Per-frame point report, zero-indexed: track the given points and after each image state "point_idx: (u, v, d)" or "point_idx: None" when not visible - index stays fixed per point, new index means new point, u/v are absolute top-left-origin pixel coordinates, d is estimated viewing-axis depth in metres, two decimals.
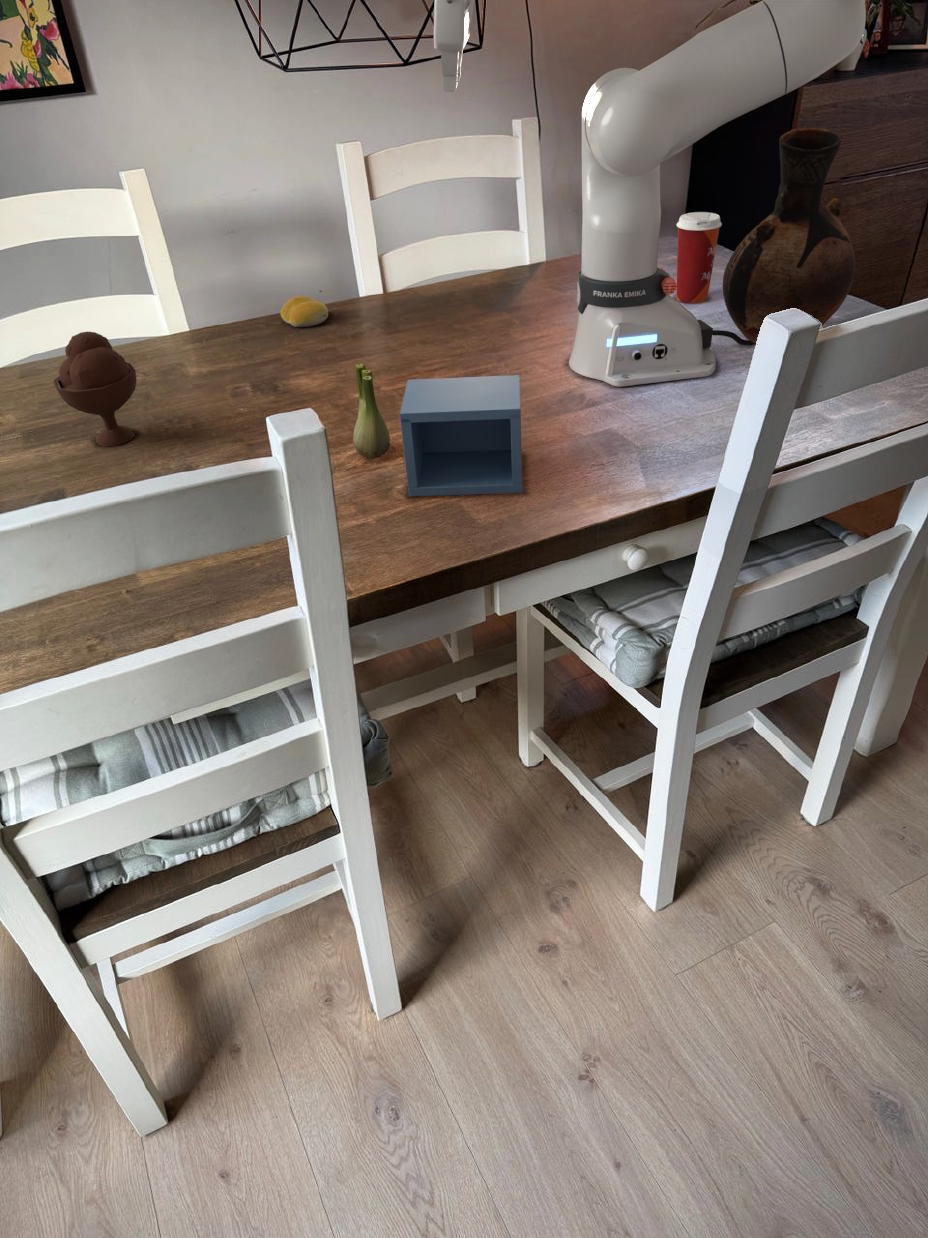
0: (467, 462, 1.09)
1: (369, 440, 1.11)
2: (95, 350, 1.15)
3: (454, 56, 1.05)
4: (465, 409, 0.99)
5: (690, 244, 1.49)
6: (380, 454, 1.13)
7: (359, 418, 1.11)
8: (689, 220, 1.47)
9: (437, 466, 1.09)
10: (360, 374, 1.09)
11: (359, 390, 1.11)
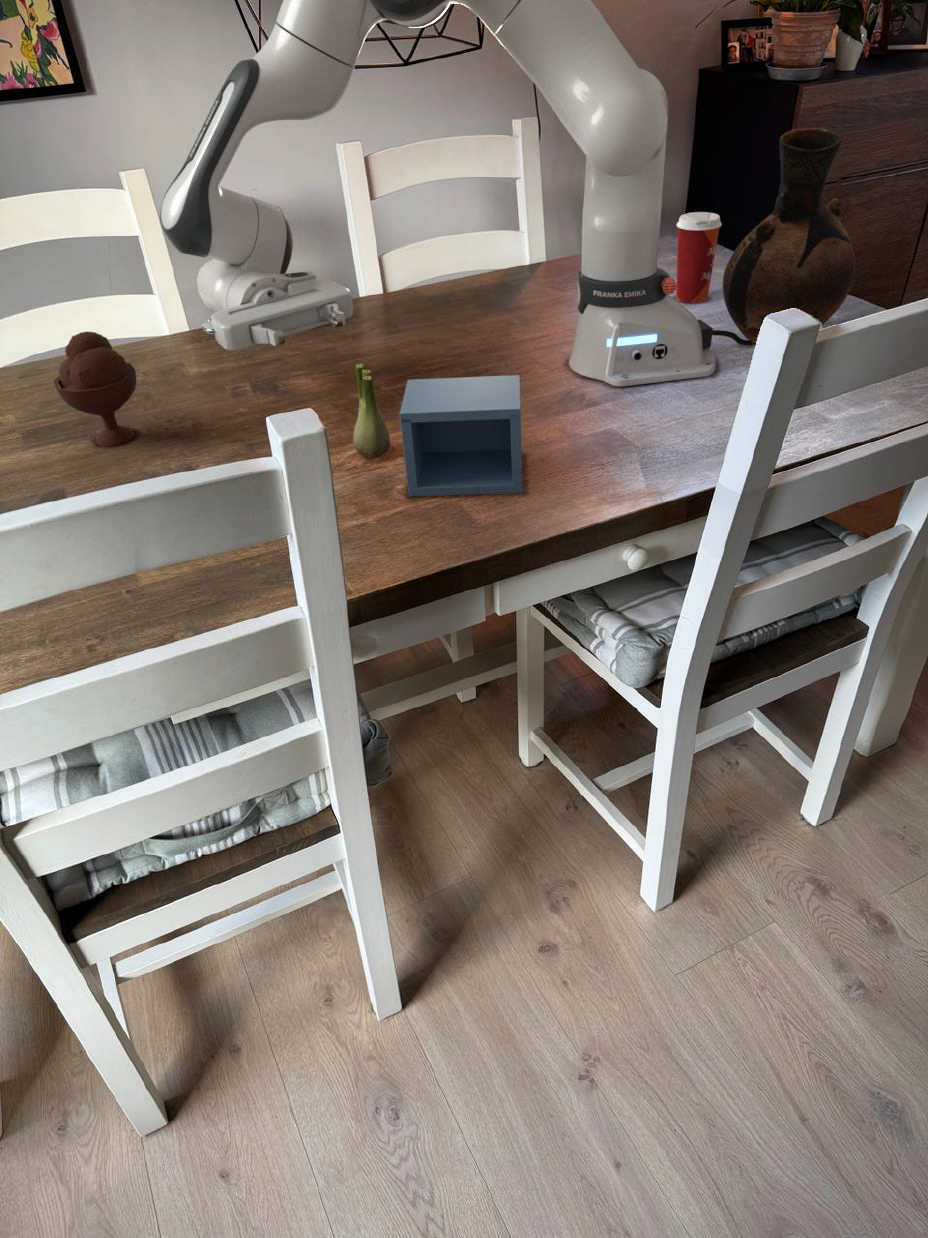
0: (467, 462, 1.09)
1: (369, 440, 1.11)
2: (95, 350, 1.15)
3: (253, 330, 1.14)
4: (465, 409, 0.99)
5: (690, 244, 1.49)
6: (380, 454, 1.13)
7: (359, 418, 1.11)
8: (689, 220, 1.47)
9: (437, 466, 1.09)
10: (360, 374, 1.09)
11: (359, 390, 1.11)
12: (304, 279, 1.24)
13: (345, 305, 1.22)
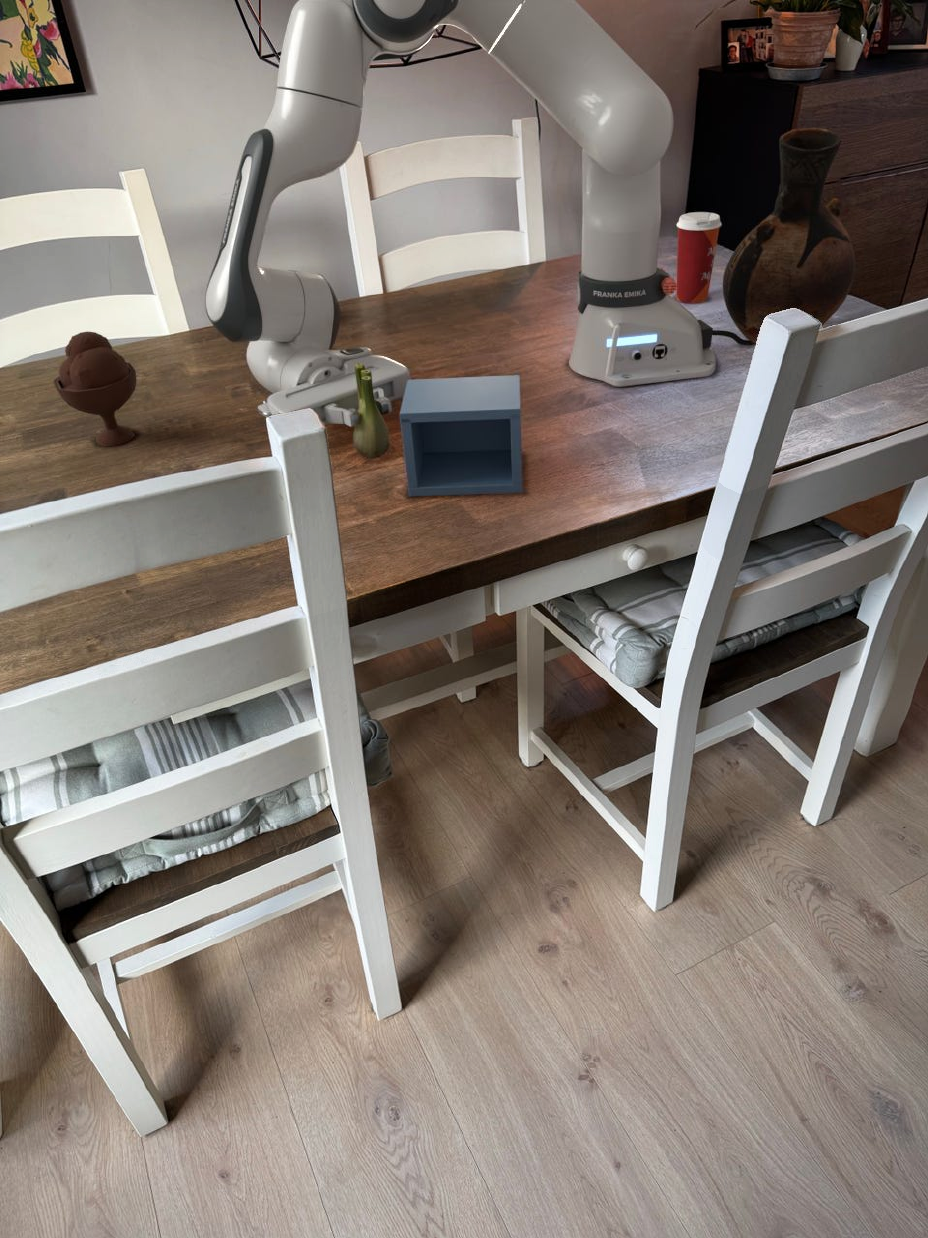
0: (467, 462, 1.09)
1: (369, 440, 1.11)
2: (95, 350, 1.15)
3: (327, 410, 1.11)
4: (465, 409, 0.99)
5: (690, 244, 1.49)
6: (380, 454, 1.13)
7: (359, 418, 1.11)
8: (689, 220, 1.47)
9: (437, 466, 1.09)
10: (359, 374, 1.09)
11: (358, 390, 1.11)
12: (360, 356, 1.20)
13: (403, 384, 1.18)
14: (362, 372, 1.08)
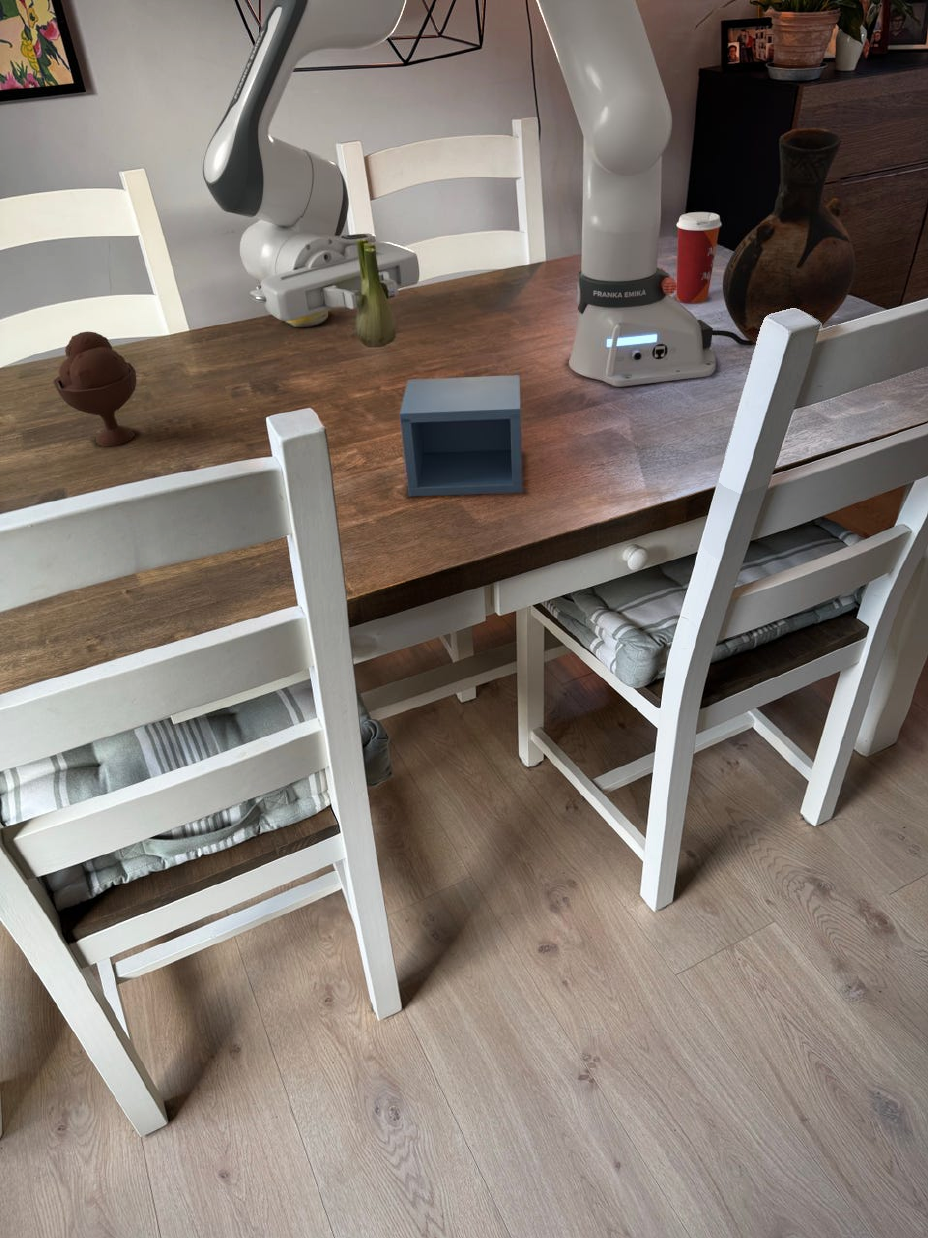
0: (467, 462, 1.09)
1: (373, 324, 1.00)
2: (95, 350, 1.15)
3: (326, 292, 1.01)
4: (465, 409, 0.99)
5: (690, 244, 1.49)
6: (385, 342, 1.03)
7: None
8: (689, 220, 1.47)
9: (437, 466, 1.09)
10: (362, 249, 0.98)
11: (361, 269, 1.00)
12: None
13: (411, 269, 1.07)
14: (365, 245, 0.97)
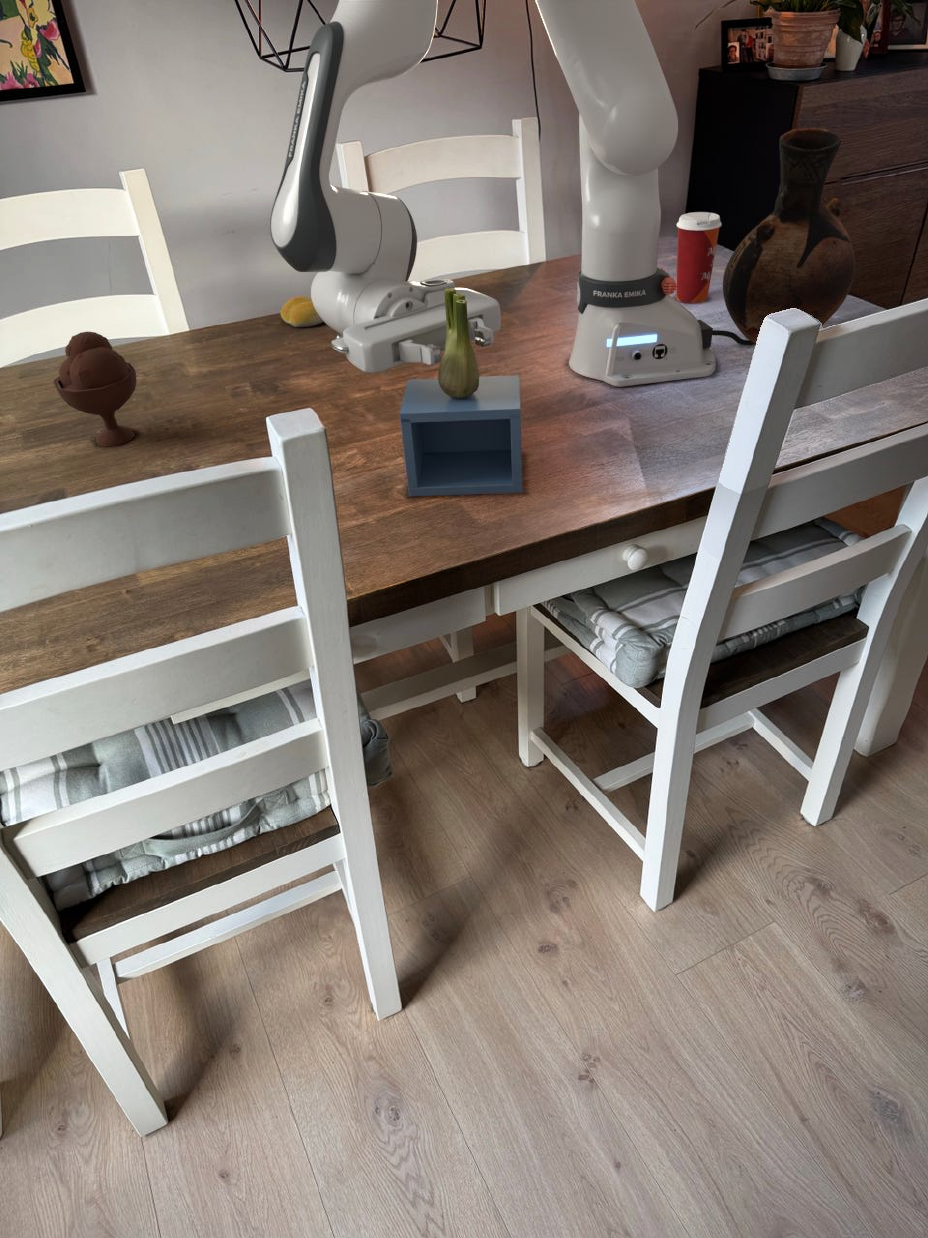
0: (467, 462, 1.09)
1: (459, 375, 0.98)
2: (95, 350, 1.15)
3: (402, 347, 0.98)
4: (465, 409, 0.99)
5: (690, 244, 1.49)
6: (469, 393, 1.00)
7: (447, 351, 0.98)
8: (689, 220, 1.47)
9: (437, 466, 1.09)
10: (451, 299, 0.96)
11: (448, 319, 0.98)
12: (443, 288, 1.07)
13: (493, 318, 1.05)
14: (455, 296, 0.95)
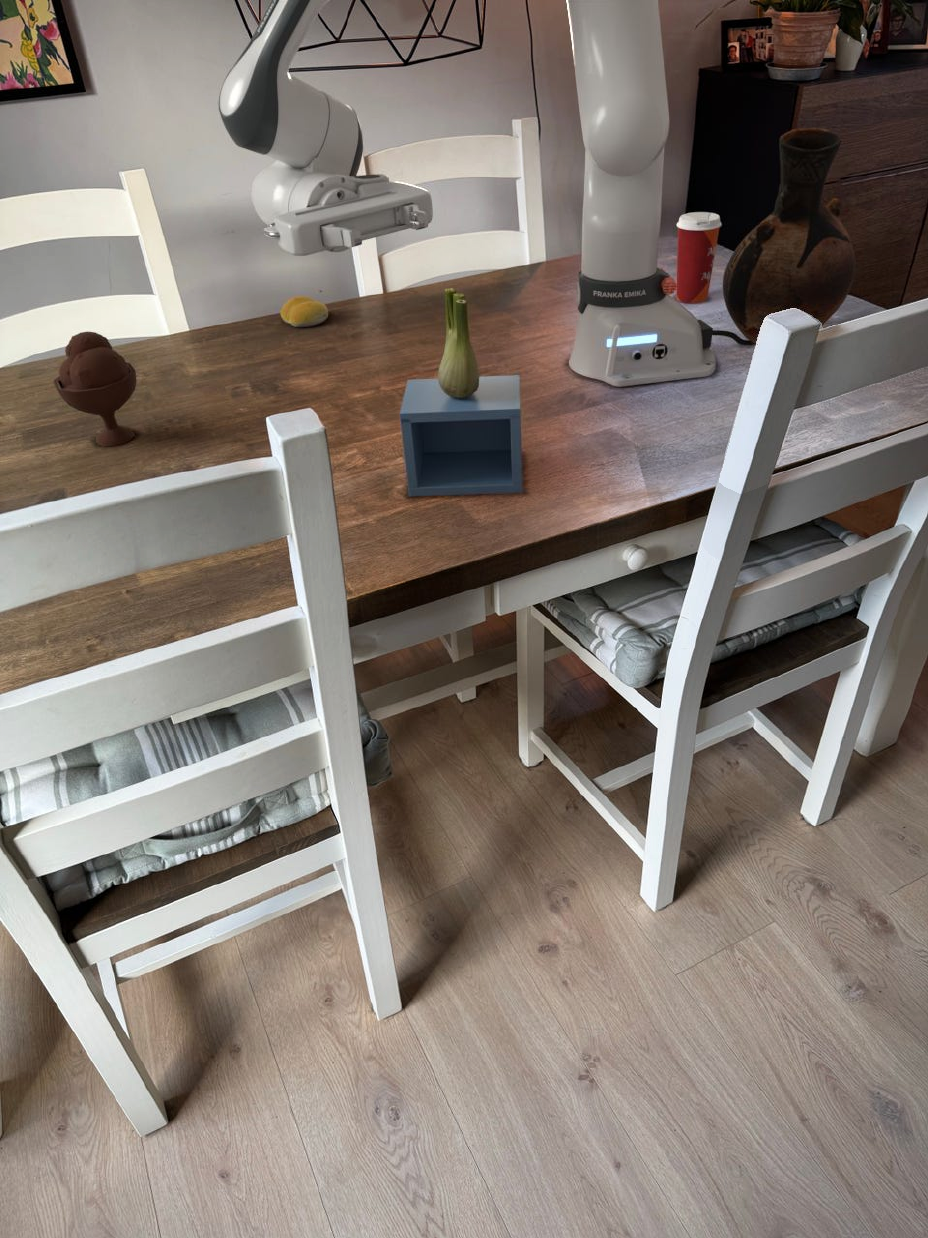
0: (467, 462, 1.09)
1: (459, 375, 0.98)
2: (95, 350, 1.15)
3: (324, 231, 0.99)
4: (465, 409, 0.99)
5: (690, 244, 1.49)
6: (469, 393, 1.00)
7: (447, 351, 0.98)
8: (689, 220, 1.47)
9: (437, 466, 1.09)
10: (451, 299, 0.96)
11: (448, 319, 0.98)
12: (376, 181, 1.09)
13: (424, 208, 1.07)
14: (455, 296, 0.95)
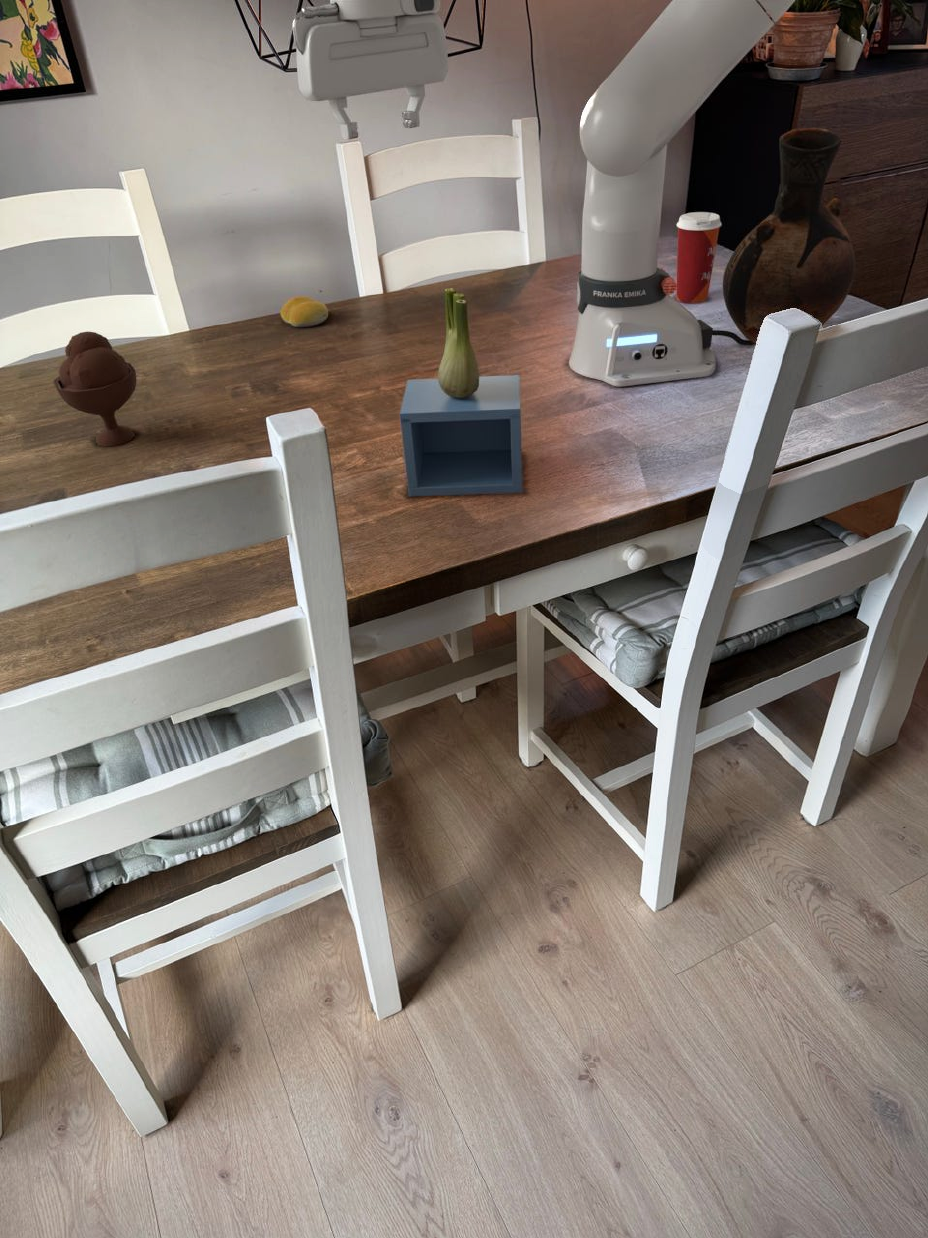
0: (467, 462, 1.09)
1: (459, 375, 0.98)
2: (95, 350, 1.15)
3: (335, 105, 1.04)
4: (465, 409, 0.99)
5: (690, 244, 1.49)
6: (469, 393, 1.00)
7: (447, 351, 0.98)
8: (689, 220, 1.47)
9: (437, 466, 1.09)
10: (451, 299, 0.96)
11: (448, 319, 0.98)
12: (425, 13, 1.03)
13: None
14: (455, 296, 0.95)
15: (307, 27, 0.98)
